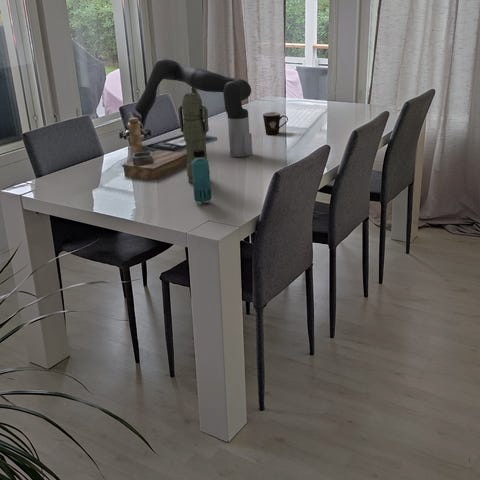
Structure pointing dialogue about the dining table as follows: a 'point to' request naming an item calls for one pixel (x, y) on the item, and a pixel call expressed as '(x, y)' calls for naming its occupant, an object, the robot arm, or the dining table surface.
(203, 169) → the beverage bottle
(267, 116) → the coffee mug
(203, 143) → the thermos
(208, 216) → the dining table surface
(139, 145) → the wooden square peg
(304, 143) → the dining table surface
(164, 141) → the sketchbook
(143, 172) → the board with square socket
